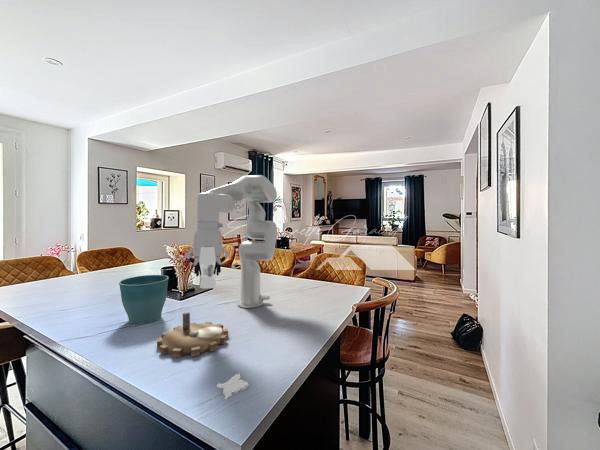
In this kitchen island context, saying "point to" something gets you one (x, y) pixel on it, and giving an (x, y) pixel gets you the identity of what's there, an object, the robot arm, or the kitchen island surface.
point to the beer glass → (207, 267)
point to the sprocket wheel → (192, 338)
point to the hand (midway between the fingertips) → (207, 274)
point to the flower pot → (144, 297)
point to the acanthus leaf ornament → (233, 385)
